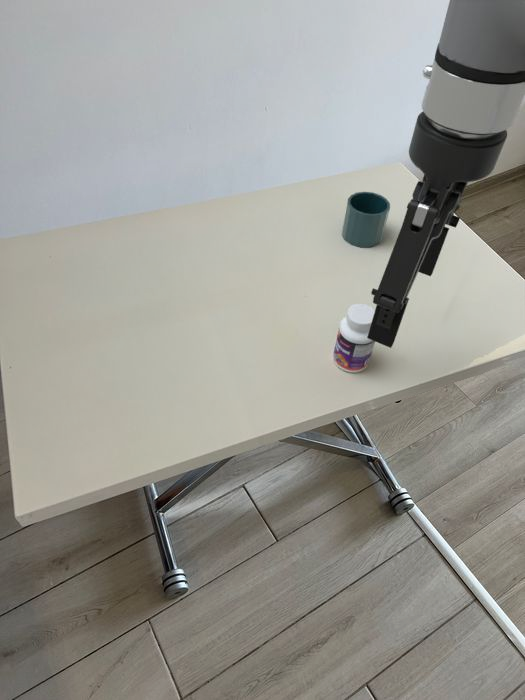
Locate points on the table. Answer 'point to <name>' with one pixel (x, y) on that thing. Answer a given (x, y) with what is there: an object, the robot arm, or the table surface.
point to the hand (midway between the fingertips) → (401, 303)
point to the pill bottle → (354, 339)
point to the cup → (365, 219)
